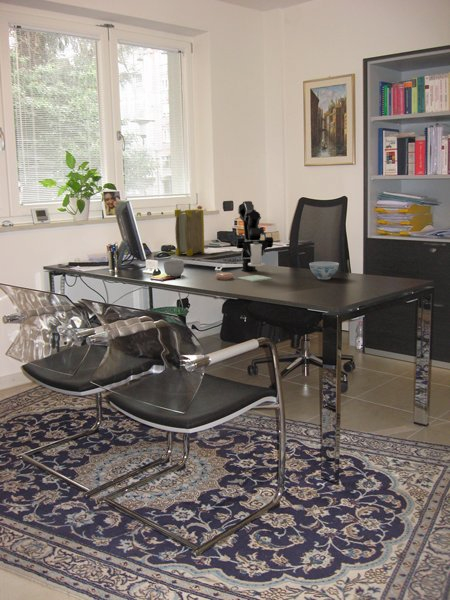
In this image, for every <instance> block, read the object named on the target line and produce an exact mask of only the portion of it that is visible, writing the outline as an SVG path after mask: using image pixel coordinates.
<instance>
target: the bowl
mask: <svg viewBox="0 0 450 600" xmlns="http://www.w3.org/2000/svg"><path fill="white" fill-rule="evenodd" d="M215 278H217V280H222V281H225V280H231V279H233V278H234V273H233V272H216V274H215Z"/></svg>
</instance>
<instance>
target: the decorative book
mask: <svg viewBox="0 0 450 600" xmlns="http://www.w3.org/2000/svg"><path fill="white" fill-rule="evenodd" d="M174 217H175V229H174V230H175V231H174V232H175V244H176V248H175V255H176V256H181V255H183V254H186V256H187V257H191V256H193V255H194V254H198V253H201V254H202V253H205V228H204V227H205V224H204V223H205V222H204V221H205V220H204V209H200V208H199V209H197V208H196V209H195V208H193V209H184V210H182V209H179V208H178V209H174Z"/></svg>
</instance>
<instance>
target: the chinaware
mask: <svg viewBox="0 0 450 600" xmlns="http://www.w3.org/2000/svg"><path fill="white" fill-rule="evenodd" d="M339 265H340V263H339V262H334V261H313V262H309V268H310V271H311V273H312V274H313V275H314V276H316V277H317V279H318V280H330V279H331V278H332V277H333V276H334V275H335V274H336V273H337V272H338V269H339Z"/></svg>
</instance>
